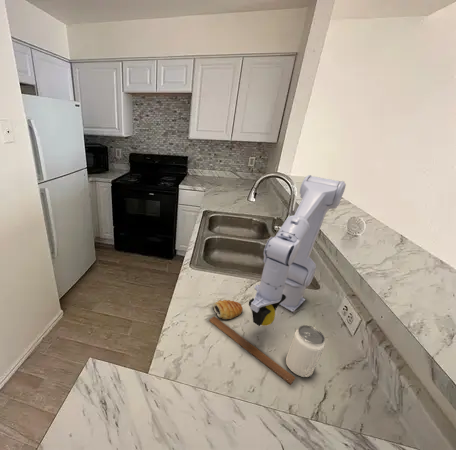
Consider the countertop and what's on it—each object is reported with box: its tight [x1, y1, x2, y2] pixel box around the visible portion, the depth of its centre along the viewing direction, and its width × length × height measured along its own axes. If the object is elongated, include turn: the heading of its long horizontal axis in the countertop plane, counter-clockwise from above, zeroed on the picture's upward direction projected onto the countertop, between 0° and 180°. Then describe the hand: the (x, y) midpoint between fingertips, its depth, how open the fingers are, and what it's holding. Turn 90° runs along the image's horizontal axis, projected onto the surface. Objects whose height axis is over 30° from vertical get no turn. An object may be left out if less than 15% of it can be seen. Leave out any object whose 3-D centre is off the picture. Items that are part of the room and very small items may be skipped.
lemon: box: [260, 305, 276, 327], centre depth 72 cm, size 6×6×8 cm
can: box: [285, 324, 326, 378], centre depth 65 cm, size 6×6×12 cm
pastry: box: [212, 299, 243, 320], centre depth 84 cm, size 9×7×4 cm
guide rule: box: [208, 316, 296, 386], centre depth 72 cm, size 2×26×1 cm, turn 39°
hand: (262, 318), depth 72 cm, fingers closed on lemon, 5 cm apart
